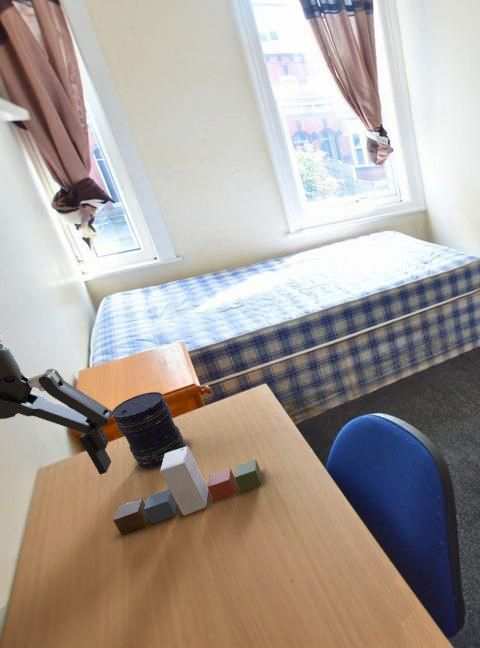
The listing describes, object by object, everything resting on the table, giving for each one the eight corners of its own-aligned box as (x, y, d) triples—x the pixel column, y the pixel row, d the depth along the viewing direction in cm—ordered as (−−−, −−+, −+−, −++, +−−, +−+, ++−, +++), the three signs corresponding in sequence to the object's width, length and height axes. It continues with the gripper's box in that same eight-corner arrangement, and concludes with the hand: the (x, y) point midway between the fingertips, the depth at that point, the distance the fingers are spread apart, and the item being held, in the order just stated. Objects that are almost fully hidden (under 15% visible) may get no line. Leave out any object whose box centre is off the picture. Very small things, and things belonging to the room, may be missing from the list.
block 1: (121, 535, 91) (112, 520, 90) (126, 521, 95) (118, 506, 93) (145, 526, 93) (137, 511, 91) (150, 512, 96) (142, 498, 94)
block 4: (240, 492, 99) (234, 477, 97) (241, 480, 102) (235, 466, 101) (261, 484, 101) (255, 470, 99) (261, 473, 104) (255, 459, 102)
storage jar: (172, 438, 119) (148, 388, 114) (195, 446, 115) (172, 395, 109) (129, 463, 111) (102, 412, 105) (152, 474, 107) (125, 420, 101)
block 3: (214, 501, 97) (207, 487, 96) (215, 489, 101) (209, 475, 99) (235, 494, 99) (229, 479, 97) (236, 482, 102) (230, 467, 100)
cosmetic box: (186, 497, 99) (164, 452, 94) (209, 489, 101) (188, 445, 96) (182, 517, 94) (158, 471, 89) (206, 508, 96) (184, 462, 91)
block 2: (151, 524, 93) (143, 509, 91) (155, 510, 96) (147, 496, 95) (175, 515, 95) (167, 501, 93) (178, 502, 98) (170, 488, 96)
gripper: (-214, 403, 49) (-92, 545, 58) (78, 337, 59) (146, 468, 67) (-160, 372, 56) (-57, 504, 64) (96, 317, 65) (156, 439, 74)
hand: (47, 486), depth 66 cm, fingers open, 13 cm apart
